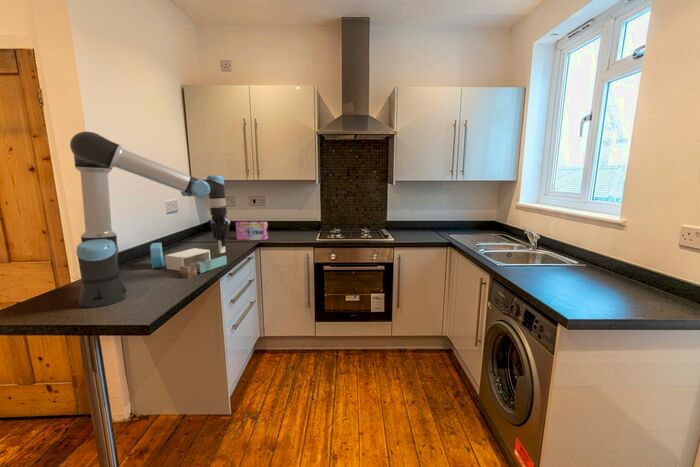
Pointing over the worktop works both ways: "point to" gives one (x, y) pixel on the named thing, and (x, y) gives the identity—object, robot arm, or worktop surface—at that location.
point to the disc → (200, 262)
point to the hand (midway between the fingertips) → (222, 252)
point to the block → (188, 270)
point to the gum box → (252, 230)
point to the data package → (156, 255)
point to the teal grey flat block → (211, 264)
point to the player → (186, 258)
